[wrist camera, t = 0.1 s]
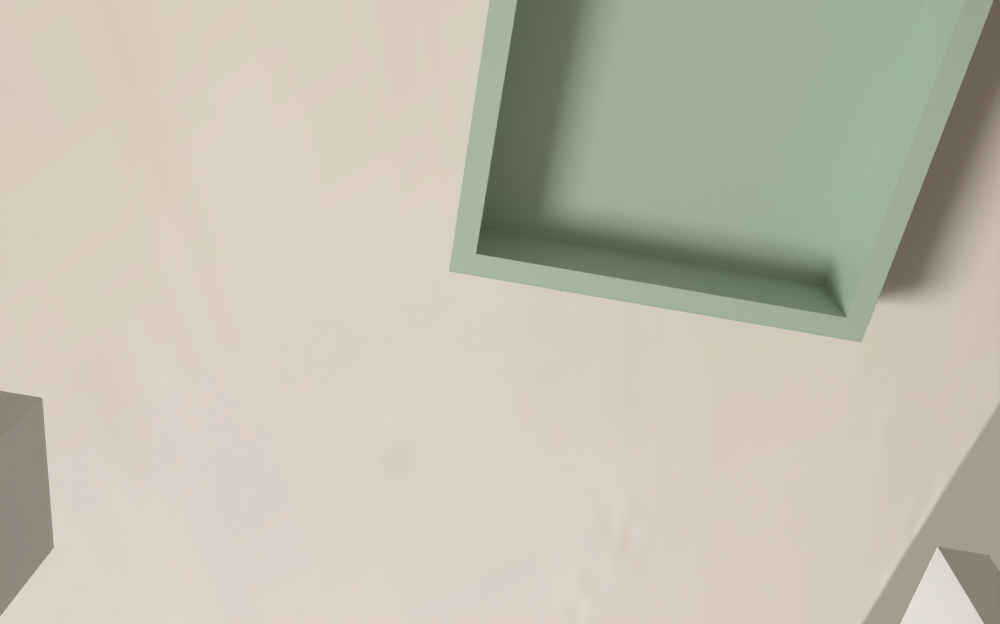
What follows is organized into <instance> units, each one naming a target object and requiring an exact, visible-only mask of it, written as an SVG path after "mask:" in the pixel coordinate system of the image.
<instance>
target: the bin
mask: <svg viewBox="0 0 1000 624" xmlns="http://www.w3.org/2000/svg"><path fill="white" fill-rule="evenodd" d="M993 1H994V0H490V3H489V9H488V16H487V23H486V29H485V36H484V43H483V49H482V56H481V63H480V69H479V76H478V83H477V89H476V96H475V103H474V110H473V116H472V123H471V130H470V136H469V143H468V150H467V156H466V163H465V170H464V176H463V183H462V190H461V196H460V203H459V210H458V217H457V223H456V230H455V237H454V243H453V250H452V257H451V263H450V270H449V271H450V272H456V273H462V274H468V275H473V276H479V277H485V278H491V279H497V280H503V281H508V282H514V283H520V284H526V285H532V286H537V287H543V288H549V289H555V290H561V291H566V292H572V293H578V294H584V295H590V296H596V297H601V298H607V299H613V300H619V301H625V302H630V303H636V304H642V305H648V306H654V307H660V308H665V309H671V310H677V311H683V312H689V313H694V314H700V315H706V316H712V317H718V318H723V319H729V320H735V321H741V322H747V323H753V324H758V325H764V326H770V327H776V328H782V329H787V330H793V331H799V332H805V333H811V334H816V335H822V336H828V337H834V338H840V339H846V340H851V341H857V342H862V339H863V337H864V334H865V332H866V329H867V327H868V324H869V321H870V319H871V316H872V314H873V311H874V308H875V306H876V303H877V301H878V298H879V296H880V293H881V290H882V288H883V285H884V283H885V280H886V277H887V275H888V272H889V270H890V267H891V265H892V262H893V259H894V257H895V254H896V252H897V249H898V246H899V244H900V241H901V239H902V236H903V233H904V231H905V228H906V226H907V223H908V221H909V218H910V215H911V213H912V210H913V208H914V205H915V202H916V200H917V197H918V195H919V192H920V190H921V187H922V184H923V182H924V179H925V177H926V174H927V171H928V169H929V166H930V164H931V161H932V159H933V156H934V153H935V151H936V148H937V146H938V143H939V140H940V138H941V135H942V133H943V130H944V128H945V125H946V122H947V120H948V117H949V115H950V112H951V109H952V107H953V104H954V102H955V99H956V97H957V94H958V91H959V89H960V86H961V84H962V81H963V78H964V76H965V73H966V71H967V68H968V65H969V63H970V60H971V58H972V55H973V53H974V50H975V47H976V45H977V42H978V40H979V37H980V34H981V32H982V29H983V27H984V24H985V22H986V19H987V16H988V14H989V11H990V9H991V6H992V3H993Z"/></svg>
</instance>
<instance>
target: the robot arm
mask: <svg viewBox="0 0 1000 624" xmlns="http://www.w3.org/2000/svg"><path fill="white" fill-rule="evenodd" d="M53 548H54V545H53V532H52V519H51V506H50V493H49V480H48V467H47V454H46V441H45V428H44V415H43V402H42V398H39V397H33V396H27V395H21V394H15V393H9V392H3V391H0V616H1V614H2V613H3V612H4V610H5V609H6V608H7V607H8V605H9V604H10V603H11V601H12V600H13V599H14V598H15V596H16V595H17V594H18V592H19V591H20V590H21V589H22V587H23V586H24V585H25V584H26V582H27V581H28V580H29V578H30V577H31V576H32V575H33V573H34V572H35V571H36V569H37V568H38V567H39V566H40V564H41V563H42V562H43V560H44V559H45V558H46V557H47V555H48V554H49V553H50V551H51V550H52V549H53ZM901 624H1000V571H999V570H998V568H997V567H996V565H995V564H994V562H993V561H992V559H991V558H990V556H989V555H984V554H978V553H972V552H966V551H960V550H954V549H948V548H942V547H937V549H936V552H935V553H934V555H933V558H932V559H931V561H930V564H929V566H928V568H927V570H926V572H925V574H924V576H923V578H922V580H921V582H920V584H919V586H918V588H917V591H916V593H915V595H914V597H913V599H912V601H911V603H910V605H909V607H908V609H907V611H906V613H905V615H904V617H903V620H902V622H901Z"/></svg>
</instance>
